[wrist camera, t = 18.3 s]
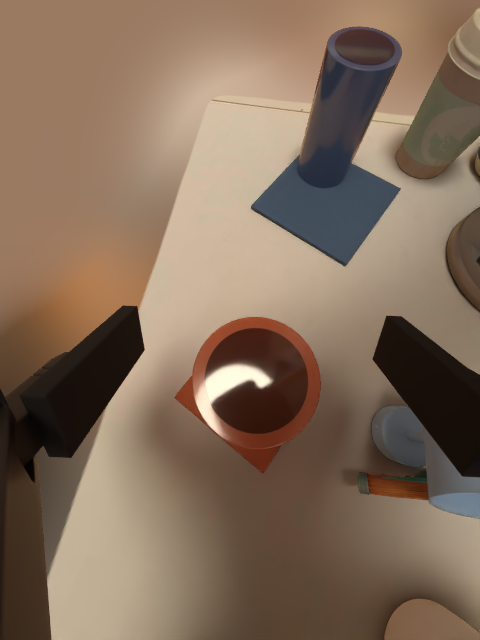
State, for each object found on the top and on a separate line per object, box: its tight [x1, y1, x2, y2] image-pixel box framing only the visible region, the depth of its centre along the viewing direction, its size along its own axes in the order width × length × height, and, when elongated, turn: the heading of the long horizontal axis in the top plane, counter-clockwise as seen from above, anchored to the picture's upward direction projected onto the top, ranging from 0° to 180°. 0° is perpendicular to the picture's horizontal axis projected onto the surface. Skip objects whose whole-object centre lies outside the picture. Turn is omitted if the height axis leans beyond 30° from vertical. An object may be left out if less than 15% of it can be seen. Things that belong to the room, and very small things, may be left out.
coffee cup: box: [396, 7, 480, 179], centre depth 26 cm, size 8×9×12 cm
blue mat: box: [251, 155, 400, 266], centre depth 29 cm, size 13×13×1 cm
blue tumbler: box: [297, 27, 402, 188], centre depth 25 cm, size 6×6×11 cm
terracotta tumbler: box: [192, 317, 321, 449], centre depth 17 cm, size 6×6×11 cm
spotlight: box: [372, 406, 480, 519], centre depth 16 cm, size 5×10×7 cm
